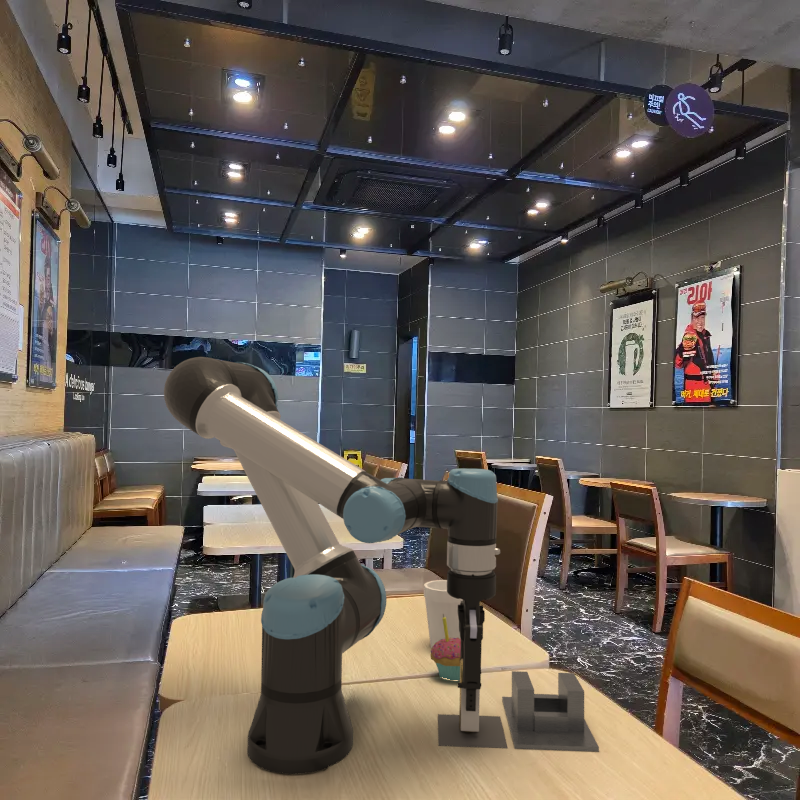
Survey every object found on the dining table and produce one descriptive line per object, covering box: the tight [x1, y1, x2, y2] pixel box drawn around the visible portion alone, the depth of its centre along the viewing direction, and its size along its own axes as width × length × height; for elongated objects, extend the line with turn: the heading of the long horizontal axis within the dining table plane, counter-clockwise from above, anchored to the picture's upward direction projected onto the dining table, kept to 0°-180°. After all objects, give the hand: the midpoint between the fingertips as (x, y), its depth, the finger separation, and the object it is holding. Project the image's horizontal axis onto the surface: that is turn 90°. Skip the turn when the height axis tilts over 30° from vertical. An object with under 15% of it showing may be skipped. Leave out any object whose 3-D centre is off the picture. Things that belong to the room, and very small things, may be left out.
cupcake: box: [430, 614, 461, 680], centre depth 118 cm, size 9×8×12 cm
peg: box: [458, 659, 476, 732], centre depth 97 cm, size 3×3×10 cm
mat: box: [437, 713, 509, 749], centre depth 96 cm, size 10×10×1 cm
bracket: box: [501, 670, 600, 753], centre depth 99 cm, size 12×16×7 cm
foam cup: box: [423, 579, 463, 648], centre depth 134 cm, size 10×9×13 cm
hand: (469, 723), depth 97 cm, fingers closed on peg, 3 cm apart
